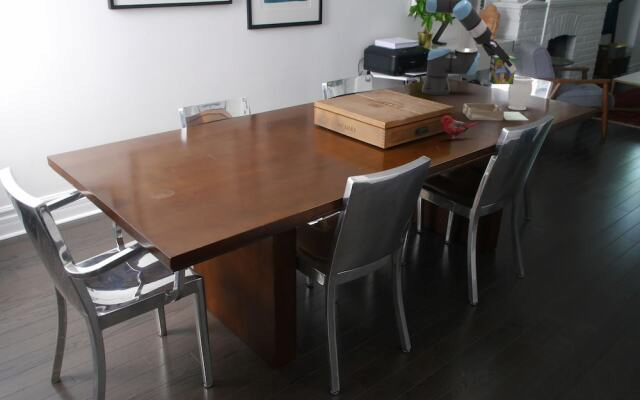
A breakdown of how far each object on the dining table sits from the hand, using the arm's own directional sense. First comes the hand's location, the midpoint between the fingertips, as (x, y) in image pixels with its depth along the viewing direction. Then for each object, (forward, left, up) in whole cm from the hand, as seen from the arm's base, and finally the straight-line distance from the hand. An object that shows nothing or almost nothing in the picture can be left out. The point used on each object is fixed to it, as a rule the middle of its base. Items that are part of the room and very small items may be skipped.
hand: (508, 68), depth 235 cm
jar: (-16, +12, -22) cm, 30 cm away
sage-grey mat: (-1, +5, -22) cm, 22 cm away
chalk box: (0, -3, -6) cm, 7 cm away
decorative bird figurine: (+36, -28, -22) cm, 50 cm away
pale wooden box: (-1, -9, -22) cm, 23 cm away
